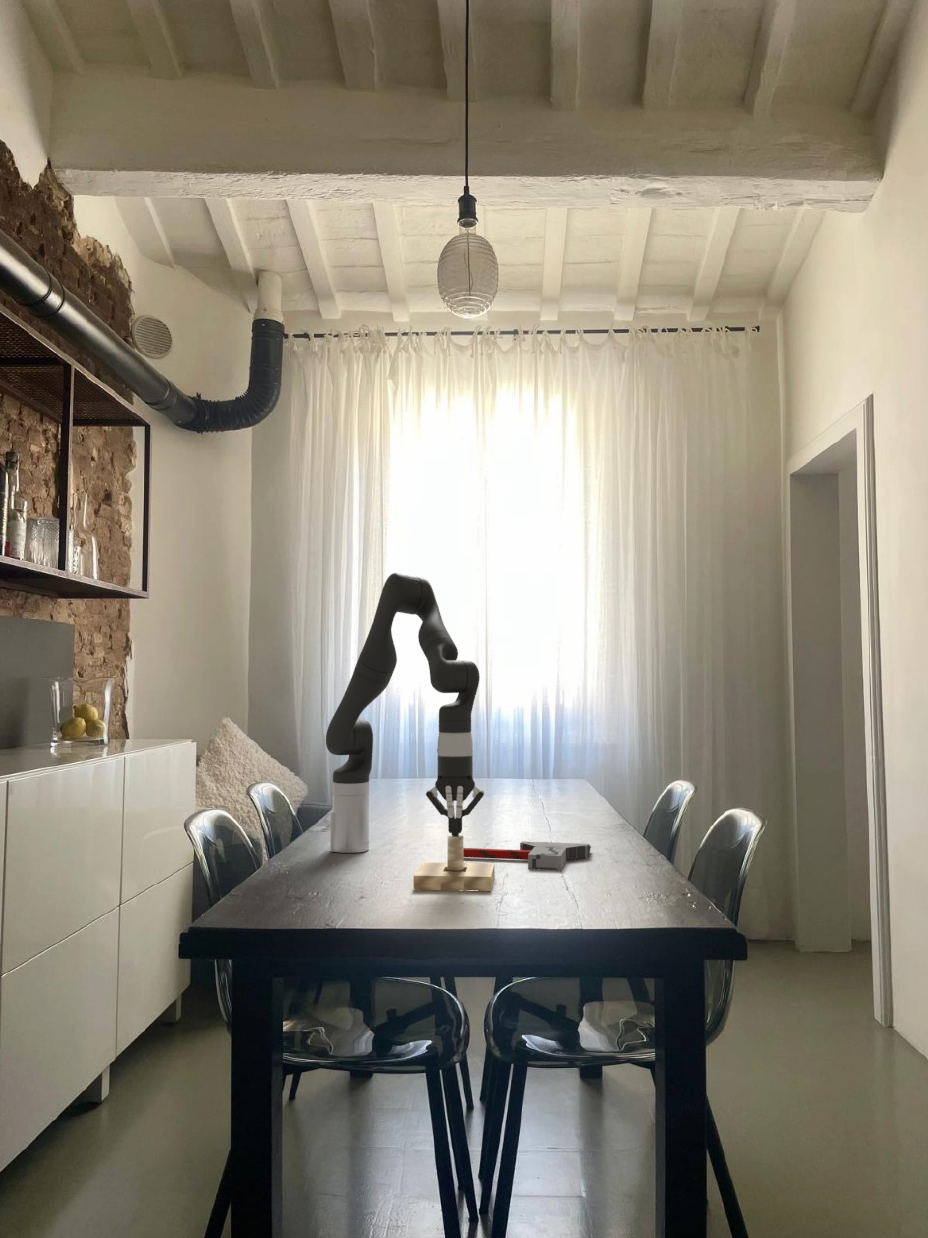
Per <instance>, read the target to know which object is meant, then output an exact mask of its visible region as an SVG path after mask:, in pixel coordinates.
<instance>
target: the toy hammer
mask: <svg viewBox="0 0 928 1238" xmlns="http://www.w3.org/2000/svg"><path fill="white" fill-rule="evenodd" d="M463 849H464V858H473V859H474V858H475V859H476V858H477V859H500V860H501V859H502V860H504V859H505V860H522V861H525V860H527V864H528V865H527V869H528V870H538V869H540V870H541V871H562V869H563V867H564V866H565V864H566V863H567V862H574V861H575V862H576V861H583V860H588V859H589V857H590V852H591V849H592V845H590V843H577V842H576V843H574V842H550V841H549V842H545V841H544V842H543V841H525V840H524V841H520V843H519V849H503V848H502V849H501V848H500V849H498V848H477V847H476V848H475V847H473V848H472V847H463Z"/></svg>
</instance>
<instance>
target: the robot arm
mask: <svg viewBox="0 0 928 1238" xmlns="http://www.w3.org/2000/svg"><path fill="white" fill-rule="evenodd" d="M397 613H400V614H401V613H402V614H408V615H416V616H417V617H419V619H420V620H421V622H422V623H421V625H420V627H419V630H418V634H417V635H418V636H417V638H418V644H419V646H420V648H421V650H422V653H423V654H424V656H425V658H426V660H427V663H428V664H427V665H428V669H429V678H430V684H431V686H432V688H433V689H434V690H435V691H436V692H439V693H441V694H458V695H457V697H456V699H455V701H454V702H451V703H447V704H444V705H442V706H441V707H440V708H439V709H438V738H437V748H436V753H437V778H436V781H435V782H434V786H433V787H432V788H431V789H429V790H427V791H426V792H425V796H426V798H427V799H428V800H429V801H430V802H431V803H432V806H434V808H435V809H436V810H437V812H438V813H439V814H440V815H441V816H445V817H447V819H448V823H447V825H448V829H447V830H448V833H450V834H451V835H452V836H459V835H460V834H461V833H462V830H463V818H464V817H466V816H469V815H470V814H471V813H472V812H473V810H474V809H475V807H476V806H477V804H479V802H480V801H481V799H483V797H484V796H485V791H484V790H483V789H482V790H481V789H480V788H478V787H477V786H476V782H475V780H474V776H473V769H474V768H473V766H474V765H473V764H474V763H473V756H474V754H473V753H474V750H473V749H474V748H473V746H474V745H473V735H472V713H473V708H474V703H475V699H476V695H477V692H478V688H479V683H480V678H481V677H480V671H479V668H478V666H477V664H476V663H474V662H473V661H472V660H465V659H464V660H463V659H462V660H459V659H458V656H459V650H458V648H457V645H456V643H455V642H454V640H453V639H452V637H451V635H450V633H449V632H448V630H447V627H446V626H445V623H444V620H443V617H442V616H441V615H442V614H441V611H440V608H439V605H438V601H437V599H436V595H435V591H434V590H433V587H432V585H431V583H430V581H429V580H427V579H426V578H424V577H421V576H417V575H411V574H407V573H406V574H405V573H401V572H400V573H399V572H393V573H391V574H390V575H388V578H387V579H386V580H385V582H384V584H383V587H382V590H381V593H380V596H379V599H378V603H377V606H376V610H375V614H374V617H373V621H372V624H371V626H370V629H369V631H368V632H369V633H368V634H367V637H366V640H365V642H364V644H363V646H362V649H361V652H360V654H359V656H358V659H357V660H356V664H355V667H354V669H353V672H352V676H351V678H350V680H349V682H348V685H347V687H346V689H345V692H344V695H343V697H342V698H341V701H340V703H339V705H338V707H337V709H336V710H335V712H334V714H333V716H332V718H331V720H330V722H329V724H328V727H327V730H326V734H325V745H326V748H327V751H328V752H329V753H330V754H332V755H333V756H348V758H347V760H346V762H345V763H344V764H342V766H339V767H338V768H336V769H334V771H333V773H332V812H331V813H330V829H329V830H330V843H329V845H330V847H329V849H330V852H333V853H334V852H335V853H342V854H344V853H345V854H346V853H347V854H354V853H364V852H367V851H369V849H370V774H371V771H372V765H373V752H374V751H373V748H374V733H373V729H372V725H371V723H370V722H369V721H368V720H367V719H366V718H361V717H360V715H362V713H363V712H364V711H365V709H366V708H367V707H368V706H369V705H371V703H372V702H374V701H375V700H376V699H377V698H378V697H380V696H381V694H382V693H383V692H384V691H385V689H386V688H387V687H388V685H389V683H390V681H391V679H392V677H393V675H394V674H393V673H394V672H395V669H396V666H397V662H398V655H397V652H396V647H395V643H394V638H393V633H392V627H393V622H394V619H395V616H396V615H397ZM359 717H360V718H359ZM471 793H472V800H471V801H470V803H469V804H468V805H467V807H465V808H464V801H465V800H467V799H468V796H469V795H470V794H471ZM439 794H440V796H441V798H443V799H444V801H446V807H445V806H444V805H443V803H442V802H441V801H440V799H439V798H438V796H439ZM455 802H456V804H455ZM455 809H456V810H455Z"/></svg>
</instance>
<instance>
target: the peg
mask: <svg viewBox="0 0 928 1238" xmlns="http://www.w3.org/2000/svg"><path fill="white" fill-rule="evenodd" d="M463 848H464V835H460V834H459V836H452V834H450V835H447V863H448V868H447V871H448V872H464V863H465V862H464V858H465V857H464V849H463Z"/></svg>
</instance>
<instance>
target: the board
mask: <svg viewBox="0 0 928 1238" xmlns="http://www.w3.org/2000/svg"><path fill="white" fill-rule="evenodd" d="M447 868H448V862H423V861H422V862H421V863H420V865H419V867H418V868H417V870H416V871H415V872H414V874H413V890H414V889H415V890H414V891H419V890H478V891H477V892H481V891H491V892H492V890H491V889H493V886H492V885H494V881H495V877H496V875H495V863H494V862H493V863H489V862H488V863H486V862H483V863H481V862H479V863H478V862H468V863H467V862H464V872H448V871H447Z"/></svg>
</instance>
